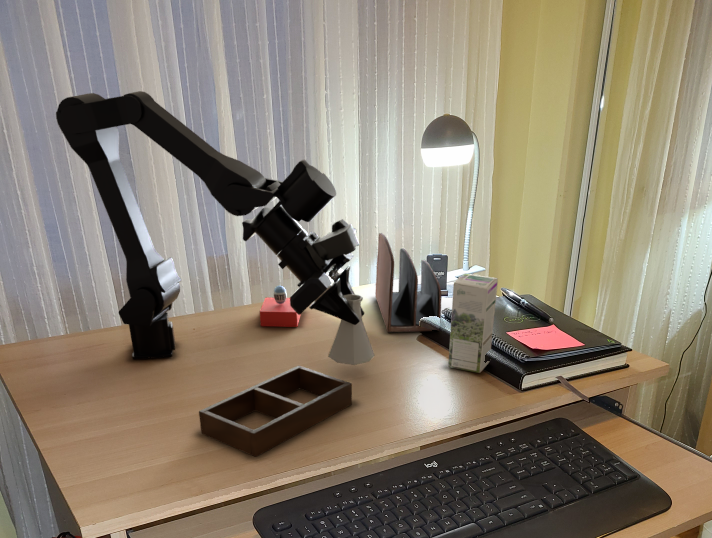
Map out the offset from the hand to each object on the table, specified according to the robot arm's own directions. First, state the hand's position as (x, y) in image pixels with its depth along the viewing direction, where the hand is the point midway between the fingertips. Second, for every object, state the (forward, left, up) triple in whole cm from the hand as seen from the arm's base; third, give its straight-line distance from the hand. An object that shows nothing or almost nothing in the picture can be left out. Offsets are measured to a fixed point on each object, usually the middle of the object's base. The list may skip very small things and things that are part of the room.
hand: (360, 319), depth 121 cm
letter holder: (+14, +26, -9) cm, 30 cm away
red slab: (-10, +27, -9) cm, 30 cm away
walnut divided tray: (-14, -15, -9) cm, 23 cm away
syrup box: (+19, 0, -9) cm, 21 cm away
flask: (-1, +1, -7) cm, 7 cm away
